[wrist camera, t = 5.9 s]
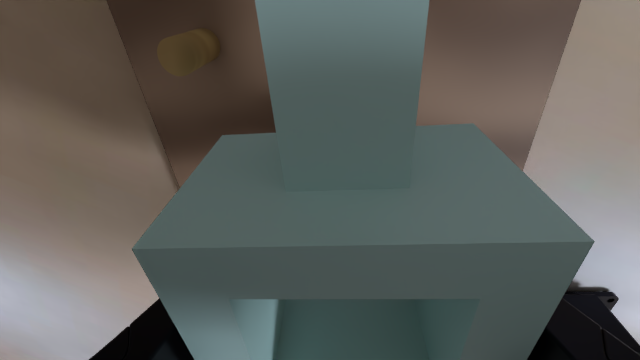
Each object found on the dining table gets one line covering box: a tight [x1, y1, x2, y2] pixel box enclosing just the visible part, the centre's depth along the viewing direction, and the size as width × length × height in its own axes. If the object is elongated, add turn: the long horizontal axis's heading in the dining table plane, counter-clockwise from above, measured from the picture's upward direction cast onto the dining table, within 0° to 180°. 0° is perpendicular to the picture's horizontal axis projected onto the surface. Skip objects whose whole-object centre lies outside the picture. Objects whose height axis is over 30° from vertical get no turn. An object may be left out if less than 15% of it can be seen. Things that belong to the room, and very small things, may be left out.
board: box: [107, 0, 581, 188], centre depth 15 cm, size 20×20×4 cm
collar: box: [132, 0, 595, 360], centre depth 7 cm, size 12×7×4 cm, turn 4°
